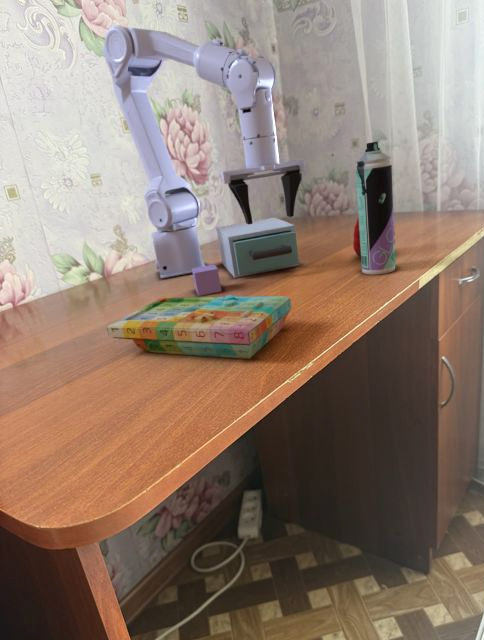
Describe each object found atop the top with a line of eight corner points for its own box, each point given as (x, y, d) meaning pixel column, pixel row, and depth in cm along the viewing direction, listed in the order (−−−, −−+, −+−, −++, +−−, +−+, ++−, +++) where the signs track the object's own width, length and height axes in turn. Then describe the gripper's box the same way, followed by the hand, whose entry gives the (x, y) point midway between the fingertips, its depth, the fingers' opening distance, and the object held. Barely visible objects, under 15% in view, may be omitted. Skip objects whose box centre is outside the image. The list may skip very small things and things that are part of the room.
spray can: (386, 275, 80) (381, 141, 73) (356, 273, 83) (347, 145, 76) (400, 266, 84) (396, 138, 76) (370, 265, 87) (364, 142, 80)
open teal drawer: (306, 267, 88) (302, 235, 86) (243, 280, 86) (238, 246, 84) (279, 251, 104) (276, 223, 102) (226, 261, 103) (222, 233, 100)
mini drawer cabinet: (299, 265, 95) (294, 225, 92) (234, 278, 92) (228, 237, 90) (279, 253, 108) (274, 217, 105) (222, 263, 106) (216, 227, 103)
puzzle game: (247, 324, 53) (104, 320, 62) (253, 365, 54) (114, 355, 63) (289, 291, 62) (160, 291, 71) (293, 326, 64) (167, 322, 73)
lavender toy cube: (198, 296, 84) (194, 273, 83) (196, 290, 88) (191, 268, 86) (221, 291, 85) (217, 268, 83) (218, 286, 88) (214, 264, 87)
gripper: (221, 143, 79) (235, 229, 84) (307, 130, 81) (315, 215, 87) (214, 144, 85) (227, 225, 90) (294, 132, 88) (302, 211, 93)
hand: (270, 219), depth 89 cm, fingers open, 7 cm apart
